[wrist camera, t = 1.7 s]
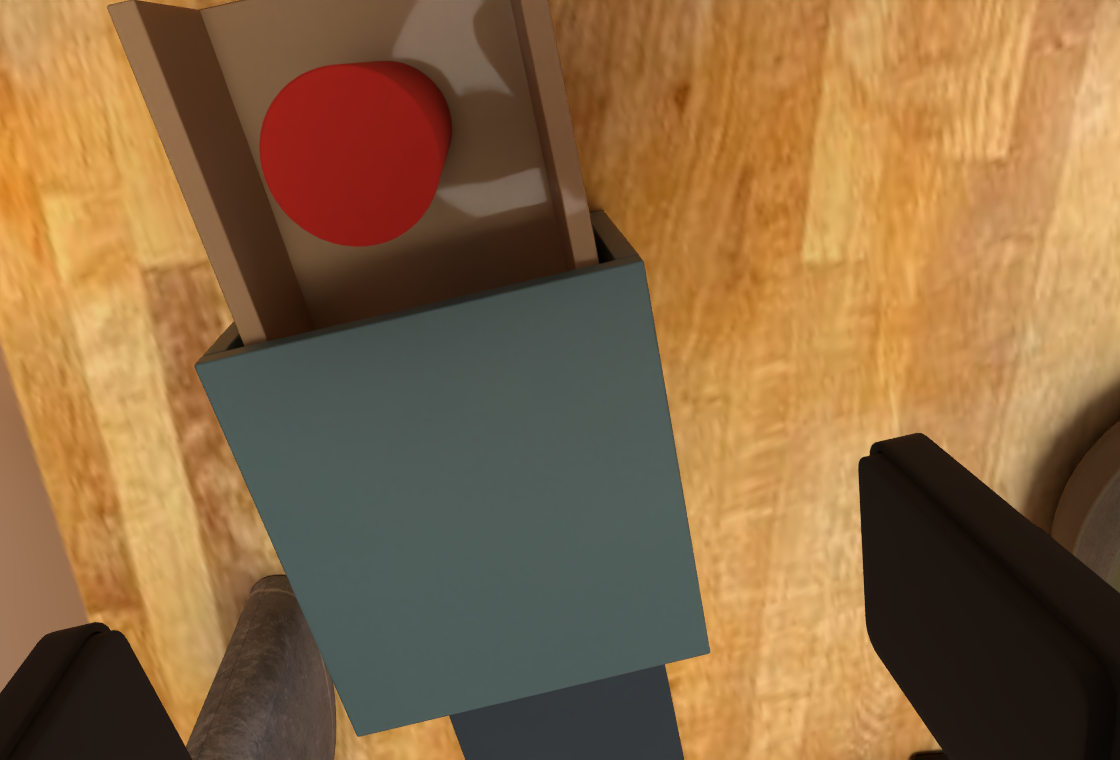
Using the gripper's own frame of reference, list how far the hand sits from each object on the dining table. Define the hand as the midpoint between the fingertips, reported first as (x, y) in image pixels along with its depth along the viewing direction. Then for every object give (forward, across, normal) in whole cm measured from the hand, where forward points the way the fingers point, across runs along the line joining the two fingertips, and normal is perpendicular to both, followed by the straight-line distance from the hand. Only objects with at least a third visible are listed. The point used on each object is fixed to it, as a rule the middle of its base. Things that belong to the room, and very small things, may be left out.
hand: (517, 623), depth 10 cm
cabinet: (+24, +2, +9) cm, 26 cm away
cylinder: (+22, +2, -5) cm, 23 cm away
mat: (+24, +2, +30) cm, 38 cm away
